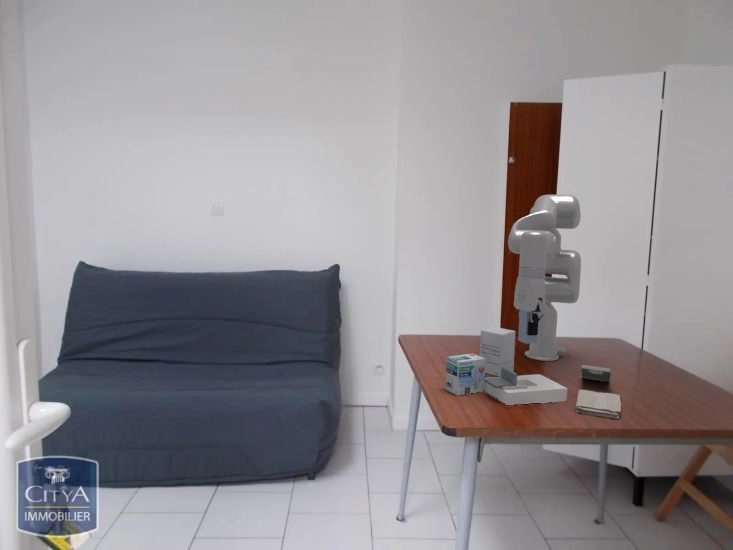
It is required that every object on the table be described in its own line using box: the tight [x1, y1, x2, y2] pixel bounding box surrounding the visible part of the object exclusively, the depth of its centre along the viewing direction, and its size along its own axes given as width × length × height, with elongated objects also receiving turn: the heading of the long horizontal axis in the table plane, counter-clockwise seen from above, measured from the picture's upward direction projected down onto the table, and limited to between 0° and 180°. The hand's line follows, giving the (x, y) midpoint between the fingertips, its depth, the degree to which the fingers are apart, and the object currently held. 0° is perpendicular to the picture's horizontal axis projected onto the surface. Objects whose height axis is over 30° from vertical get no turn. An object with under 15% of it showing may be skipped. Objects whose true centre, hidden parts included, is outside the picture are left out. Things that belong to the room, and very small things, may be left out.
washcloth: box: [575, 389, 622, 420], centre depth 154 cm, size 12×18×3 cm, turn 157°
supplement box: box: [479, 326, 516, 377], centre depth 184 cm, size 9×9×15 cm
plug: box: [517, 310, 538, 345], centre depth 159 cm, size 4×4×12 cm
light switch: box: [581, 364, 612, 383], centre depth 172 cm, size 8×6×14 cm
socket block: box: [484, 373, 568, 406], centre depth 161 cm, size 20×14×5 cm
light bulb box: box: [445, 353, 486, 397], centre depth 164 cm, size 11×7×11 cm, turn 118°
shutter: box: [484, 367, 518, 388], centre depth 158 cm, size 7×7×4 cm
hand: (528, 332), depth 159 cm, fingers closed on plug, 4 cm apart
